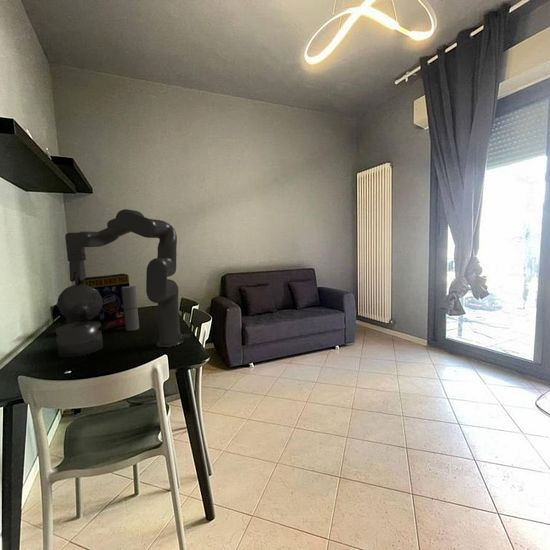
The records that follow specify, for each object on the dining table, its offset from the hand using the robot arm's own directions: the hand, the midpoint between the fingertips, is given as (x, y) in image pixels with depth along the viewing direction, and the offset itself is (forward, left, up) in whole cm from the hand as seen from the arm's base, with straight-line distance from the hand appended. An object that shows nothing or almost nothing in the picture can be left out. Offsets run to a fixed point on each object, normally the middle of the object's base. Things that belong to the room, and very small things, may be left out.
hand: (80, 294), depth 153 cm
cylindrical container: (-20, -20, -26) cm, 38 cm away
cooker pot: (0, +10, -25) cm, 27 cm away
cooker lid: (0, +3, -4) cm, 5 cm away
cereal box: (-6, -32, -26) cm, 41 cm away
